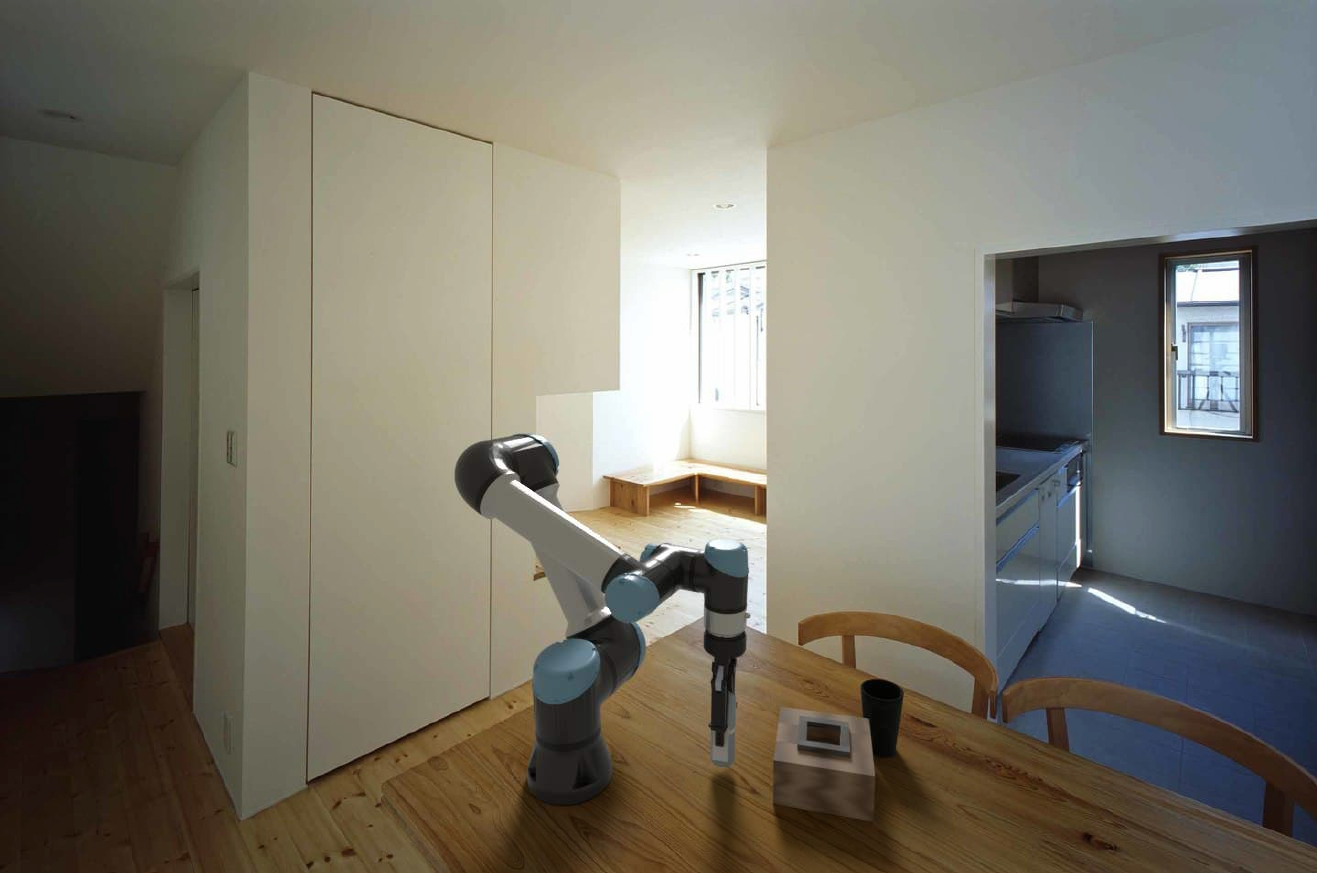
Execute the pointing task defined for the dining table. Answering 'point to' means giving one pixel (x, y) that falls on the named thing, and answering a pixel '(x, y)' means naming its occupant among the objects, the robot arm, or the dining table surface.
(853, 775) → the socket block
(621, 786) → the dining table surface
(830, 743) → the grey square plate
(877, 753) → the cup
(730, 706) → the peg
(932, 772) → the dining table surface
